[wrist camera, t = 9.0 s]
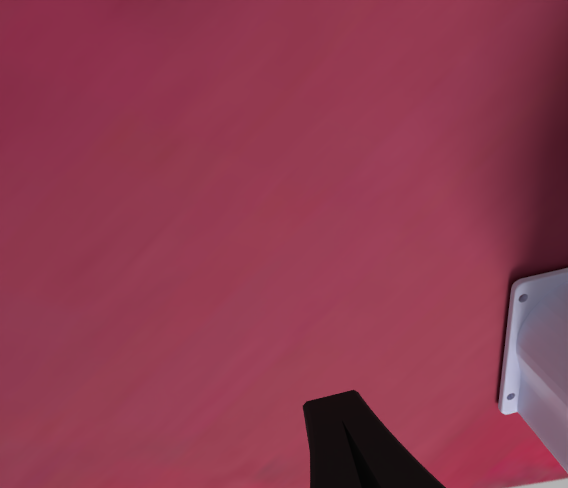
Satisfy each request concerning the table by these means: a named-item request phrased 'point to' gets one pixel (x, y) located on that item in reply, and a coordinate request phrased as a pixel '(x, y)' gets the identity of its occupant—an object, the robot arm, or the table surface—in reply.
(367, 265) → the table surface
